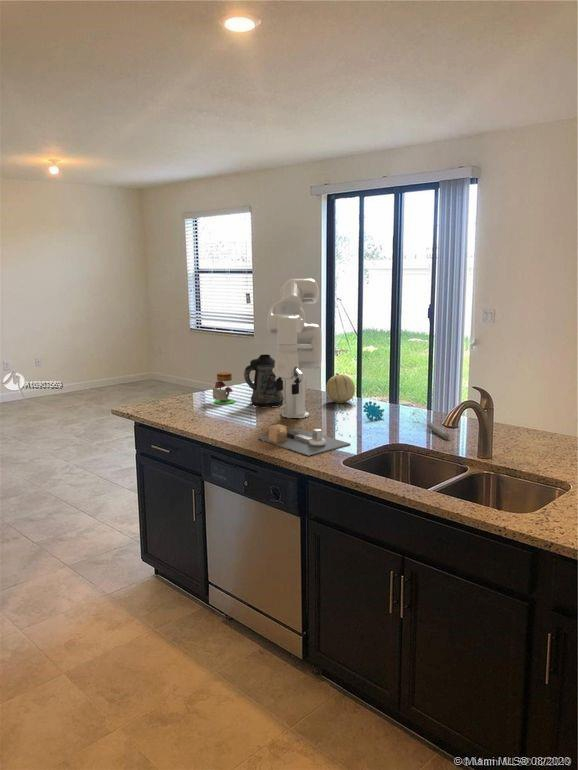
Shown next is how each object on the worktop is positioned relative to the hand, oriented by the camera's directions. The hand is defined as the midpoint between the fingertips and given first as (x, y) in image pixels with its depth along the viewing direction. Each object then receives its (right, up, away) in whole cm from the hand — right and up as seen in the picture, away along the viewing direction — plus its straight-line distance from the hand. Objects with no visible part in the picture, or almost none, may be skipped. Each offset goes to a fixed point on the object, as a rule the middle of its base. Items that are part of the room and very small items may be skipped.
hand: (287, 392), depth 233 cm
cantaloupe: (+27, -6, +70) cm, 76 cm away
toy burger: (-33, -6, +73) cm, 80 cm away
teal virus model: (+39, -13, +39) cm, 56 cm away
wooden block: (-4, -19, +1) cm, 20 cm away
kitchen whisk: (+61, -16, +20) cm, 66 cm away
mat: (+6, -20, +2) cm, 21 cm away
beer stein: (-11, -7, +67) cm, 68 cm away
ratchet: (+6, -19, +3) cm, 20 cm away
